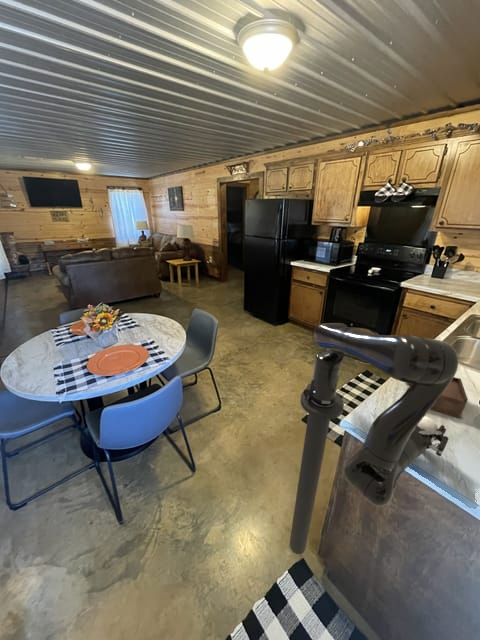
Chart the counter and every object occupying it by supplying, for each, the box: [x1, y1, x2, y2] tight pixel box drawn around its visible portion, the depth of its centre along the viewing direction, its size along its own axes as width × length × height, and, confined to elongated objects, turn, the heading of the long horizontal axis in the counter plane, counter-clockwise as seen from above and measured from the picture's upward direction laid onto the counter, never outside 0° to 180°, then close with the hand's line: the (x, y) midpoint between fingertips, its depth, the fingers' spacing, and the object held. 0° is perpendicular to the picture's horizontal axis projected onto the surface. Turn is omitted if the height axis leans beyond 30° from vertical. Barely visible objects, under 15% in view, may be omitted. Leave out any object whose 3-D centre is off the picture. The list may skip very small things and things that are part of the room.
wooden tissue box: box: [406, 376, 469, 419], centre depth 100 cm, size 16×14×8 cm
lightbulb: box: [417, 415, 439, 431], centre depth 79 cm, size 6×6×11 cm
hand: (429, 420), depth 79 cm, fingers closed on lightbulb, 6 cm apart
